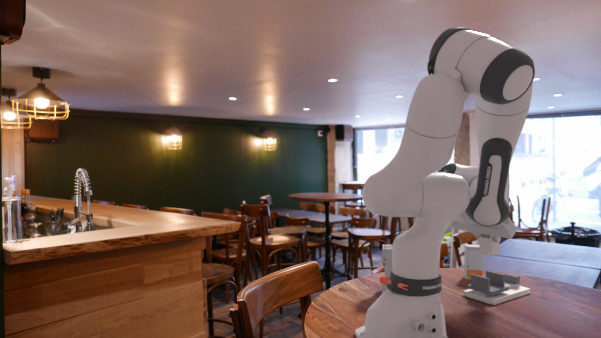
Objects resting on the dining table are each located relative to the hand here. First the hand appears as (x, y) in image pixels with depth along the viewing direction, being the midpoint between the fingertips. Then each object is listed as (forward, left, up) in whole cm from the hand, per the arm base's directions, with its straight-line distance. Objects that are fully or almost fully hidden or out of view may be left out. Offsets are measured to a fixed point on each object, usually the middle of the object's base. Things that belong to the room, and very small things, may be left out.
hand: (489, 239), depth 118 cm
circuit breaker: (-20, +15, -18) cm, 31 cm away
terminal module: (0, 0, -4) cm, 4 cm away
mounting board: (+5, 0, -18) cm, 19 cm away
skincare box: (+14, +14, -18) cm, 27 cm away
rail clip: (+5, 0, -16) cm, 17 cm away
